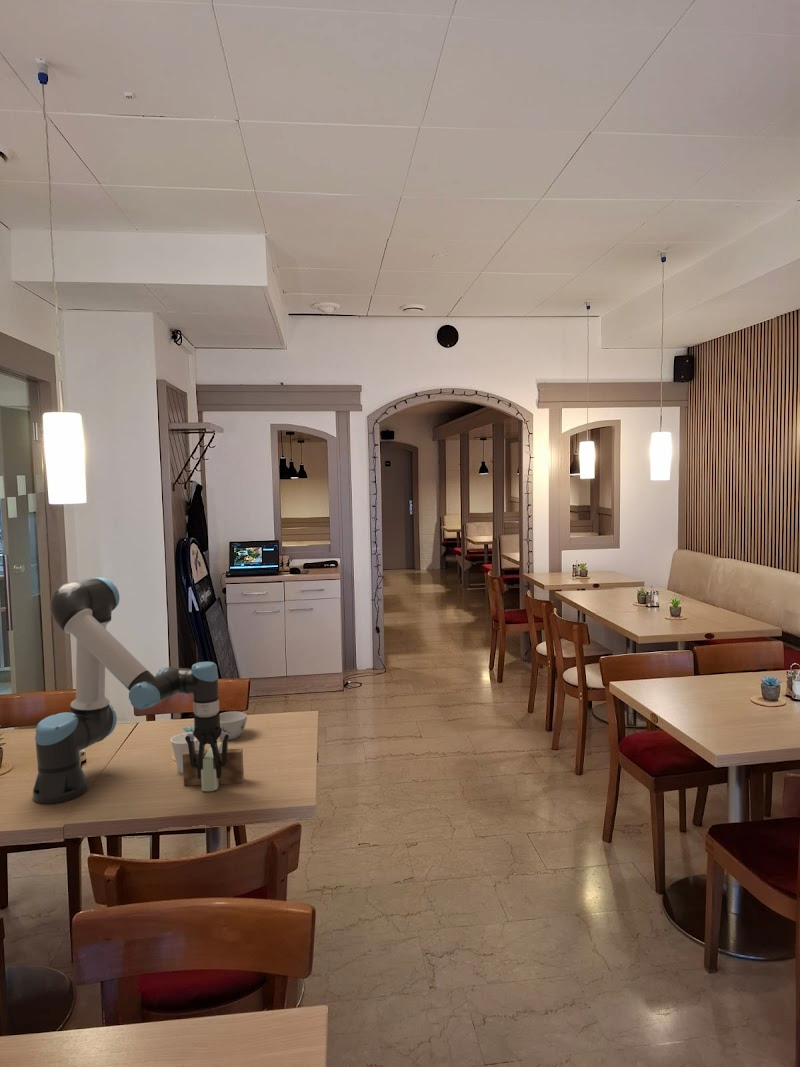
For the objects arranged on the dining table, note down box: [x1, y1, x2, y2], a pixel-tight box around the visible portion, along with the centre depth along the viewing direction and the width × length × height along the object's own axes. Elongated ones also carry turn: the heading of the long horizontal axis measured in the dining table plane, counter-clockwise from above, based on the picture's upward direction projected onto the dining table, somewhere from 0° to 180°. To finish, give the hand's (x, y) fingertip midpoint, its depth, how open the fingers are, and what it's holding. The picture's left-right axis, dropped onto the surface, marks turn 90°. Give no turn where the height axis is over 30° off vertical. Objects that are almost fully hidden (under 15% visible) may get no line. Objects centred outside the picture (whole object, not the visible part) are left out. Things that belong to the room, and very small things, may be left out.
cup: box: [170, 731, 200, 774], centre depth 232 cm, size 10×10×11 cm
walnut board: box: [182, 748, 245, 786], centre depth 222 cm, size 18×3×10 cm, turn 93°
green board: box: [203, 741, 223, 792], centre depth 222 cm, size 14×3×10 cm, turn 3°
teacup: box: [219, 710, 248, 741], centre depth 261 cm, size 15×12×8 cm
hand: (210, 788), depth 217 cm, fingers closed on green board, 3 cm apart
